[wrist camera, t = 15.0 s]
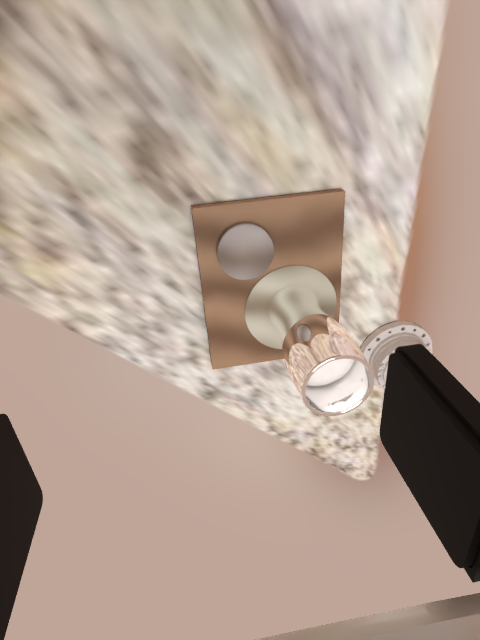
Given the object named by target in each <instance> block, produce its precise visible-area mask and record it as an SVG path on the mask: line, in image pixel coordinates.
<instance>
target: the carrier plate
mask: <svg viewBox="0 0 480 640" xmlns="http://www.w3.org/2000/svg"><path fill="white" fill-rule="evenodd" d="M344 204H345V191H344V190H342V189H333V190H324V191H316V192H307V193H298V194H289V195H281V196H272V197H263V198H254V199H245V200H237V201H228V202H219V203H210V204H201V205H193V206H191V208H192V216H193V224H194V231H195V239H196V247H197V254H198V262H199V270H200V277H201V285H202V293H203V301H204V308H205V316H206V324H207V331H208V339H209V347H210V354H211V362H212V368H213V369H218V368H225V367H232V366H238V365H245V364H251V363H258V362H265V361H271V360H278V359H284V355H283V349H282V342H281V335H280V332H279V331H278V330H277V329H276V328H275V327H274V326H273V324H272V323H271V321H270V319H269V316H268V307H269V304H270V301H271V299H272V298H273V296H274V295H275V294H276V293H277V292H278V291H280V290H281V289H283V288H285V287H288V286H291V285H302V286H305V287H308V288H309V289H311V290H312V291H313V292H314V293H315V294H316V296H317V297H318V300H319V303H320V307H321V309H322V310H323V311H324V312H325V313H326V314H328V315H329V316H330V317H332V318H333V319H334V320H335V321H337V322H338V323H339V306H340V286H341V265H342V245H343V225H344Z"/></svg>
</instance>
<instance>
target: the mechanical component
mask: <svg viewBox="0 0 480 640" xmlns="http://www.w3.org/2000/svg"><path fill="white" fill-rule="evenodd" d="M413 344H422V345H423V346H424V347H425V348H426V349H427V350H428V351H429V352H430V353H431V354H432V348H433V346H432V341H431V338H430V336H429V335H428V334H427V332H426V331H425V330H423V328H422V327H421V326H419V325H417V324H416V323H413V322H408V321H396V322H392V323H389V324H386V325H384V326H382V327H380V328H378V329H377V330H375V331H374V332H373V333H372V334H371V335H369V336H368V338H367V339H366V340H365V341H364V342H363V344H362V346H361V348H360V349H361V351H362V353H363V354H364V356H365V358H366V360H367V362H368V363H369V365H370V366H371V368H372V370H373V372H374V385H375V386H378V387H383V388H384V389H385V384H386V376H387V368H388V360H389V356H390V354H392V353H395V350H396V348H397V347H400V346H406V345H413ZM432 355H433V354H432Z"/></svg>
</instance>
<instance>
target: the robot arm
mask: <svg viewBox="0 0 480 640" xmlns="http://www.w3.org/2000/svg"><path fill="white" fill-rule="evenodd" d="M380 437H381V441H382V444H383V445H384V447H385V449H386V451H387V452H388V454H389V456H390V457H391V459H392V461H393V462H394V464H395V466H396V467H397V469H398V471H399V472H400V474H401V476H402V477H403V479H404V481H405V482H406V484H407V486H408V487H409V489H410V491H411V492H412V494H413V496H414V497H415V499H416V501H417V502H418V504H419V506H420V507H421V509H422V511H423V512H424V514H425V516H426V517H427V519H428V521H429V522H430V524H431V526H432V527H433V529H434V531H435V532H436V534H437V536H438V537H439V539H440V540H441V542H442V544H443V546H444V547H445V549H446V550H447V552H448V554H449V556H450V557H451V559H452V561H453V562H454V563H455V565H456V566H458V567H459V568H464V569H465V570H466V572H467V574H468V575H469V577H470V579H471V580H472V582H477V581H480V403H479V402H478V401H477V400H476V399H475V398H474V397H473V396H472V395H471V394H470V393H469V392H468V391H467V390H466V389H465V388H464V387H463V386H462V384H461V383H460V382H458V380H457V379H456V378H455V377H454V376H453V375H452V374H451V373H450V372H449V371H448V370H447V369H446V368H445V367H444V366H443V365H442V364H441V363H440V362H439V361H438V360H437V359H436V358H435V357H434V356H433V355H432V354H431V353H430V352H429V351H428V350H427V349H426V348H425V347H424V346H423V345H422V344H413V345H406V346H400V347H397V348H396V350H395V353H392V354H390V356H389V360H388V368H387V376H386V384H385V392H384V401H383V409H382V417H381V425H380ZM42 501H43V495H42V490H41V488H40V486H39V484H38V481H37V479H36V477H35V475H34V472H33V470H32V468H31V466H30V464H29V462H28V460H27V457H26V455H25V453H24V451H23V448H22V446H21V444H20V442H19V440H18V438H17V435H16V434H15V431H14V429H13V427H12V424H11V422H10V421H9V418H8V416H7V415H5V414H0V640H4V637H5V633H6V630H7V626H8V623H9V619H10V616H11V612H12V609H13V605H14V602H15V598H16V595H17V591H18V588H19V584H20V580H21V577H22V574H23V570H24V566H25V563H26V560H27V556H28V553H29V549H30V546H31V542H32V539H33V535H34V531H35V528H36V524H37V521H38V518H39V514H40V510H41V507H42ZM257 640H480V593H477V594H473V595H467V596H461V597H456V598H451V599H446V600H441V601H435V602H431V603H426V604H422V605H416V606H412V607H407V608H402V609H398V610H393V611H388V612H383V613H379V614H374V615H369V616H364V617H359V618H355V619H350V620H345V621H341V622H336V623H331V624H326V625H321V626H317V627H312V628H307V629H303V630H299V631H293V632H289V633H284V634H280V635H275V636H270V637H266V638H261V639H257Z"/></svg>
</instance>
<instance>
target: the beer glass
mask: <svg viewBox="0 0 480 640" xmlns="http://www.w3.org/2000/svg"><path fill="white" fill-rule="evenodd" d="M268 316H269V319H270V321H271V323H272V324H273V326H274V327H275V328H276V329H277V330H278V331H279V332H280V335H281V342H282V349H283V355H284V360H285V364H286V367H287V370H288V372H289V375H290V377H291V379H292V381H293V383H294V385H295V387H296V389H297V390H298V392H299V394H300V395H301V397H302V399H303V401H304V403H305V405H306V406H307V407H308V408H309V409H310V410H311V411H313V412H314V413H317V414H319V415H324V416H336V415H341V414H345V413H347V412H350V411H352V410H353V409H355V408H357V407H358V406H359V405H361V404H362V403H363V402H364V401H365V400H366V399H367V397H368V396H369V394H370V393H371V391H372V388H373V385H374V372H373V370H372V368H371V366H370V365H369V363H368V362H367V360H366V358H365V356H364V354H363V353H362V351H361V349H360V348H359V346H358V345H357V343H356V342H355V340H354V339H353V338H352V336H351V335H350V334H349V333H348V332H347V330H346V329H344V328H343V327H342V326H341V325H340V324H339V323H338V322H337V321H335V320H334V319H333V318H332V317H330V316H329V315H328V314H326V313H325V312H324V311H323V310H322V309H321V307H320V303H319V300H318V297H317V296H316V294H315V293H314V292H313V291H312V290H311V289H309V288H308V287H305V286H302V285H291V286H288V287H285V288H283V289H281V290H280V291H278V292H277V293H276V294H275V295H274V296H273V298H272V299H271V301H270V304H269V307H268Z"/></svg>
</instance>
